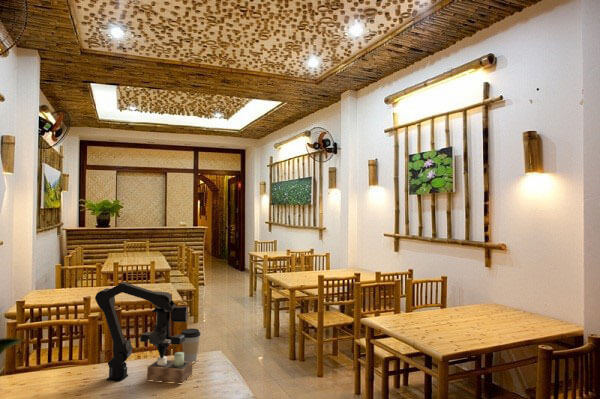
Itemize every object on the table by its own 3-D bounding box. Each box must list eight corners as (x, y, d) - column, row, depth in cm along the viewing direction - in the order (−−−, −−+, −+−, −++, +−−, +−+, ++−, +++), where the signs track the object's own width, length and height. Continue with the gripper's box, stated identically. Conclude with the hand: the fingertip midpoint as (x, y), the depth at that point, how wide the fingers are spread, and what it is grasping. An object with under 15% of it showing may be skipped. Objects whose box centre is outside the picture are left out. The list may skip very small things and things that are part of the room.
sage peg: (172, 367, 177) (172, 354, 177) (176, 364, 181) (177, 351, 181) (181, 368, 177) (181, 355, 177) (185, 365, 181) (185, 352, 181)
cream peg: (155, 371, 179) (155, 358, 179) (159, 368, 183) (160, 355, 183) (163, 372, 178) (164, 359, 178) (168, 369, 182) (168, 356, 182)
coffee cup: (203, 361, 201) (204, 330, 201) (189, 367, 193) (190, 334, 193) (190, 357, 206) (191, 326, 206) (175, 362, 198) (176, 331, 198)
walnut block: (147, 381, 176) (147, 366, 176) (158, 372, 186) (159, 358, 186) (181, 384, 173) (182, 369, 173) (192, 375, 183) (192, 361, 183)
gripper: (133, 325, 174) (132, 362, 174) (174, 328, 171) (173, 366, 171) (147, 318, 185) (146, 353, 185) (186, 321, 182) (185, 357, 182)
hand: (162, 357), depth 180 cm, fingers closed, pressing on cream peg
